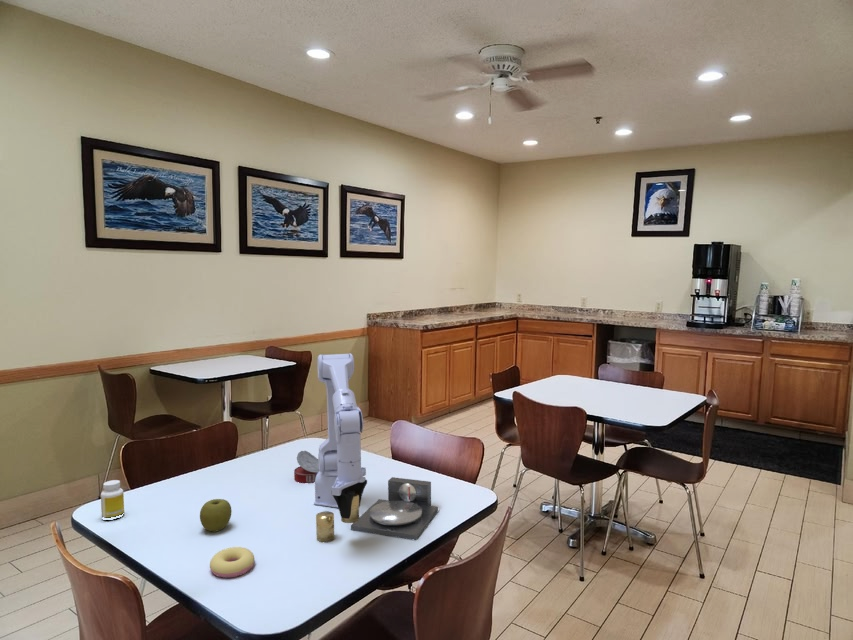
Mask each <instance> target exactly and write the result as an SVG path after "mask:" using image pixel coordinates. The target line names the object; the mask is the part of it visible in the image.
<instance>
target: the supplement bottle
mask: <svg viewBox="0 0 853 640" xmlns="http://www.w3.org/2000/svg"><path fill="white" fill-rule="evenodd" d="M102 489H103V490H102V491H101V493H100V507H101V509H100V511H101V518H102V517H104V518H111V517H116V516H119V515H122V514H123V513H124V514H125V502H124V501H125V500H124V489H122V488H121V480H118V479H112V480H107V481H105V482H103V487H102Z"/></svg>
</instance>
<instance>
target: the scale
mask: <svg viewBox="0 0 853 640" xmlns="http://www.w3.org/2000/svg"><path fill="white" fill-rule="evenodd" d="M387 485H388V486H387V491H388V492H387V493H388V494H387V495H388V498H387V499H381V498H379V499H377V500H376V501H375V502H374V503H373V504H372V505H371V506H370V507H369V508H368V509H366V511H365V512H363V513H362V514H361V515H359V520H358V521H357V522H354V523H351V524H350V531H355V532H362V533H367V534H375V535H380V536H388V537H395V538H398V539H399V538H400V539H406V538H407V539H406V540H412V539H414V540H413V541H417V540H416V539H418V538H419V537H420V536H419V535H421V534H422V533H423V532H424V530H425V529H426V528H427V526H428V525H429V524H430V523H431V521H432V520H433V519H434V517H435V516H436V514H437V513H438V512H439V507H438V506H436V505H435V506H434V505H432V481H428V480H421V479H420V480H419V479H411V478H402V477H401V478H400V477H395V476H394V477H393V476H392V477H390V479H388V480H387ZM387 501H408V502H412V503H415V504H417V505H419V506H420V507H421V509H422V516H421V517H420V518H419V519H418V520H416V521H414V522H412V523H409V524H404V525H384V524H380V523H377V522H375V521H373V520H372V519H371V518H370V510H371V508H372V507H374V506H375V505H377V504H379V503H383V502H387ZM437 511H438V512H437ZM434 515H435V516H434ZM431 519H432V520H431ZM428 523H429V524H428ZM425 527H426V528H425ZM424 528H425V529H424ZM422 531H423V532H422Z"/></svg>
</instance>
